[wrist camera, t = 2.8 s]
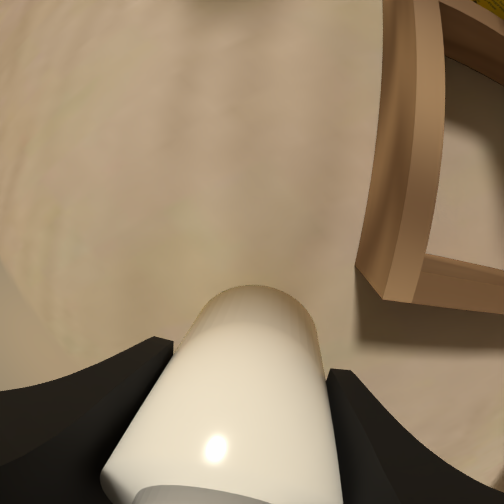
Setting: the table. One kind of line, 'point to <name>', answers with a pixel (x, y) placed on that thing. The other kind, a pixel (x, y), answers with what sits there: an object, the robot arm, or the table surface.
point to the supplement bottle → (492, 6)
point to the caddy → (423, 153)
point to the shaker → (234, 413)
